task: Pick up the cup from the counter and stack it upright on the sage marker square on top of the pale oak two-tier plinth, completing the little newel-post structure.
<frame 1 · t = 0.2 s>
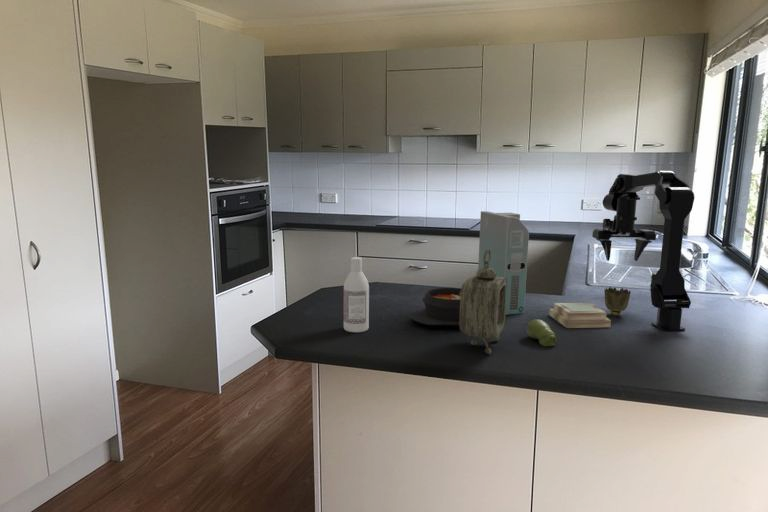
hand: (621, 260, 187), 14 cm above the worktop, fingers open, 9 cm apart
oak plinth: (578, 320, 168), on the worktop
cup: (615, 316, 175), on the worktop
light blue cardboard box: (499, 307, 182), on the worktop
pear: (541, 342, 150), on the worktop
casserole: (450, 322, 166), on the worktop
tabletop clock: (481, 346, 145), on the worktop
bath foam: (356, 329, 157), on the worktop
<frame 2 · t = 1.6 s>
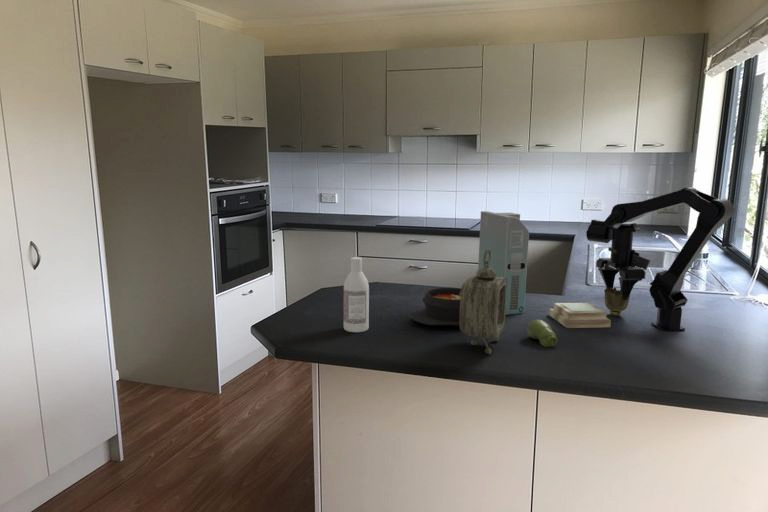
hand: (617, 295, 173), 6 cm above the worktop, fingers open, 9 cm apart
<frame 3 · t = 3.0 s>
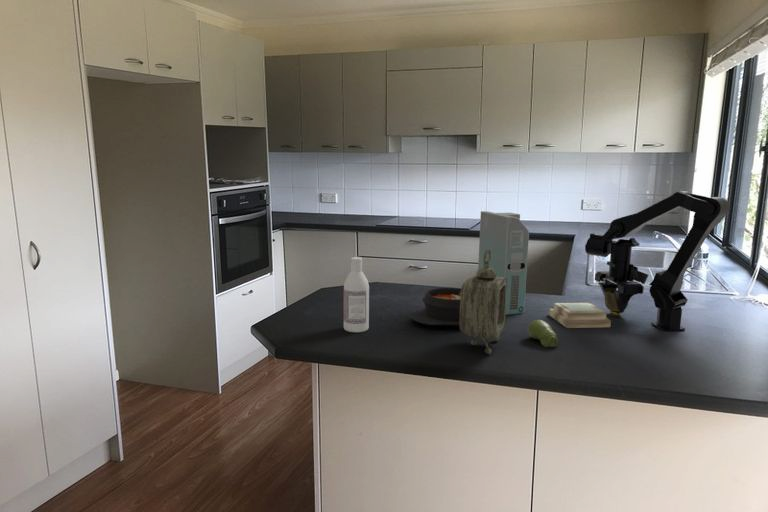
hand: (615, 309, 174), 2 cm above the worktop, fingers closed on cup, 6 cm apart
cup: (615, 315, 175), on the worktop, touching gripper
everything else where it was.
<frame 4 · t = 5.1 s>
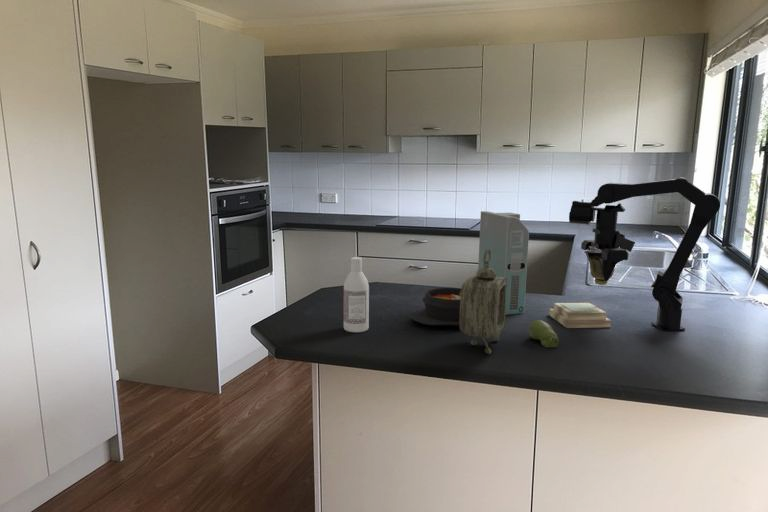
hand: (601, 278, 170), 12 cm above the worktop, fingers closed on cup, 6 cm apart
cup: (600, 284, 170), point 10 cm above the worktop, touching gripper
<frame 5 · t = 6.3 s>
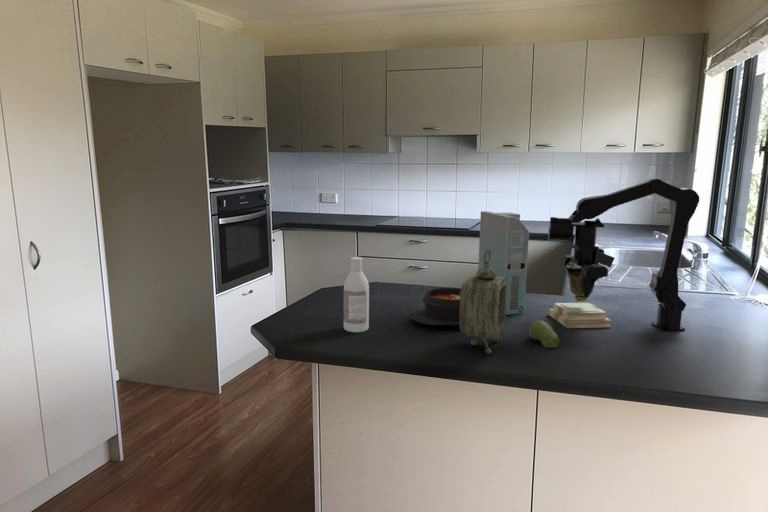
hand: (581, 294, 167), 8 cm above the worktop, fingers closed on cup, 6 cm apart
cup: (580, 301, 167), point 6 cm above the worktop, touching gripper
when the fingers open (7 cm above the worktop, at t = 7.3 s): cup drops 1 cm, resting on oak plinth.
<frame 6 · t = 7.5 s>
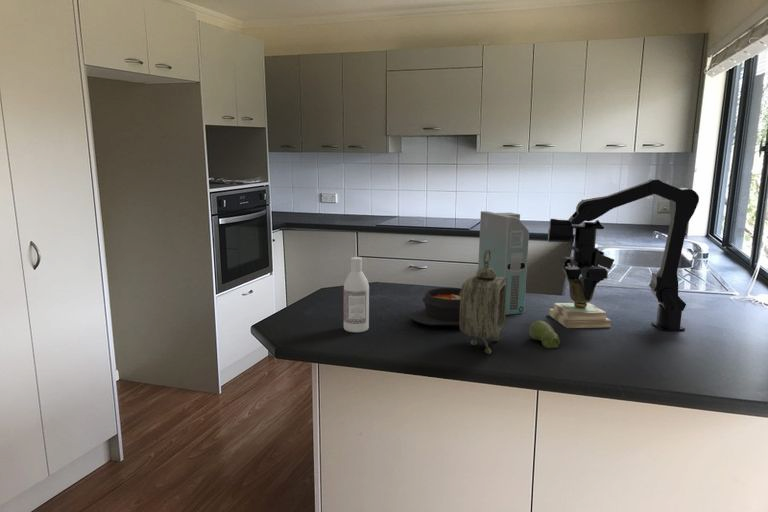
hand: (580, 296, 167), 7 cm above the worktop, fingers open, 8 cm apart
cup: (580, 307, 167), point 4 cm above the worktop, touching oak plinth
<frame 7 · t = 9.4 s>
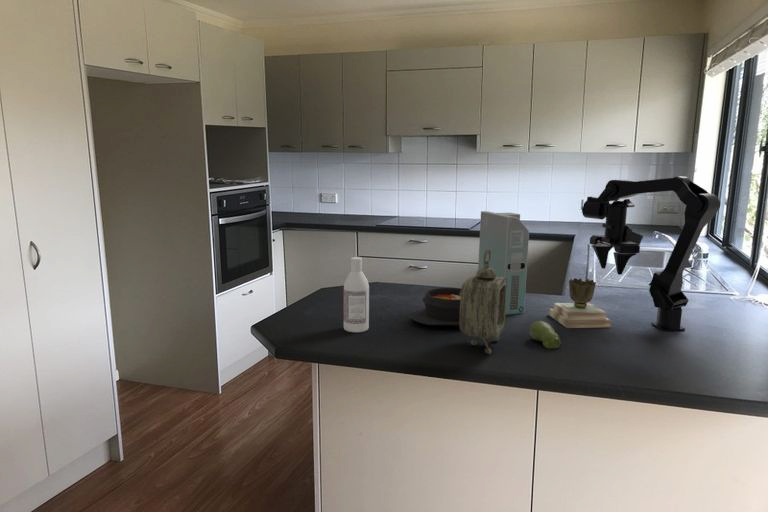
hand: (611, 271, 176), 13 cm above the worktop, fingers open, 9 cm apart
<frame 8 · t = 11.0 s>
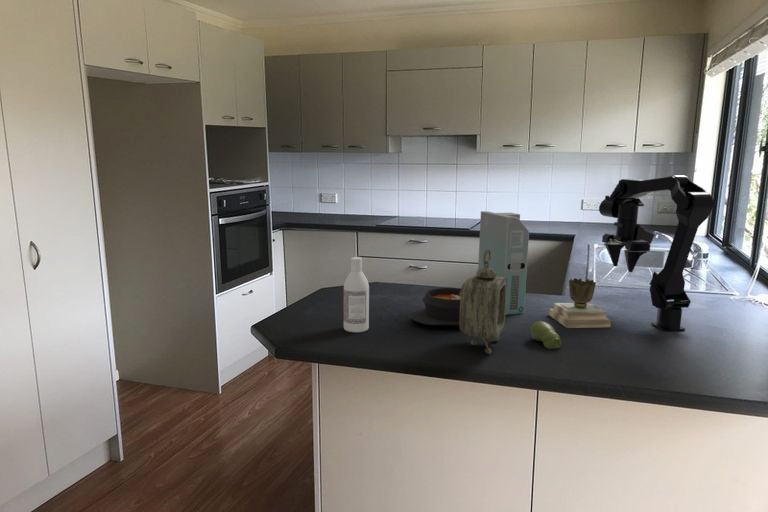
hand: (622, 269, 180), 13 cm above the worktop, fingers open, 9 cm apart
at the end: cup 0.2 cm off-centre on the oak plinth, point 4.0 cm above the oak plinth's base; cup tilted 0°; the gripper is holding nothing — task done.
